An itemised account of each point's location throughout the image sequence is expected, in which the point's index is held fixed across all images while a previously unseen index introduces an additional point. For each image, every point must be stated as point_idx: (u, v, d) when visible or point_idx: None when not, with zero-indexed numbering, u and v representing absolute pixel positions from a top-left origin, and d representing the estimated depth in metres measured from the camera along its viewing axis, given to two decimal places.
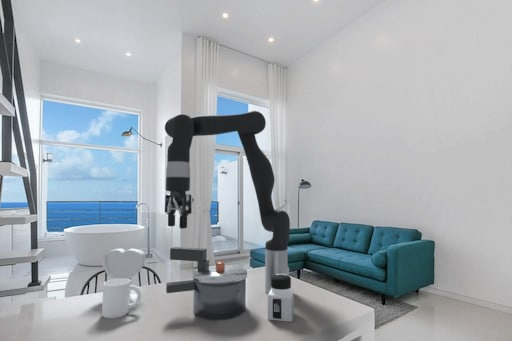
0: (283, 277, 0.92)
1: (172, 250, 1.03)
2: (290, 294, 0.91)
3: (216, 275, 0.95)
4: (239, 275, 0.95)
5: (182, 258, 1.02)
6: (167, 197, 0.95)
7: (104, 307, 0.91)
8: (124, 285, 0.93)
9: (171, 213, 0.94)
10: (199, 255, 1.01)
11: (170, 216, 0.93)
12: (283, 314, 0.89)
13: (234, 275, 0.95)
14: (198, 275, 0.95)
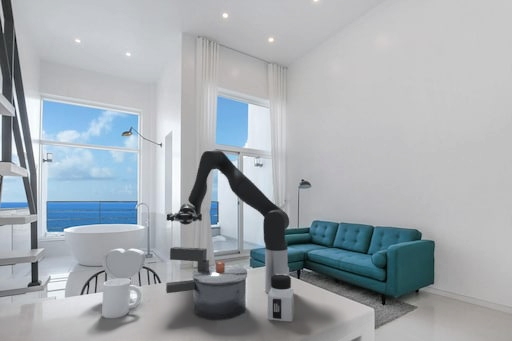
0: (283, 277, 0.92)
1: (172, 250, 1.03)
2: (290, 294, 0.91)
3: (216, 275, 0.95)
4: (239, 275, 0.95)
5: (182, 258, 1.02)
6: None
7: (104, 307, 0.91)
8: (124, 285, 0.93)
9: None
10: (199, 255, 1.01)
11: None
12: (283, 314, 0.89)
13: (234, 275, 0.95)
14: (198, 275, 0.95)
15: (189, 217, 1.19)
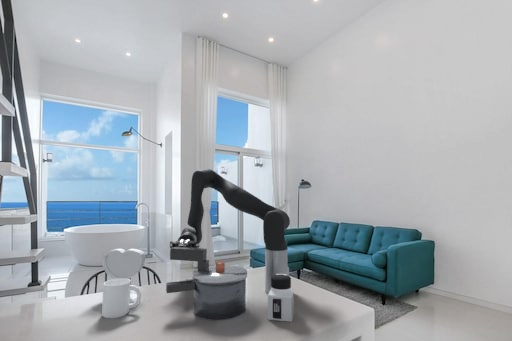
0: (283, 277, 0.92)
1: (172, 250, 1.03)
2: (290, 294, 0.91)
3: (216, 275, 0.95)
4: (239, 275, 0.95)
5: (182, 258, 1.02)
6: None
7: (104, 307, 0.91)
8: (124, 285, 0.93)
9: None
10: (199, 255, 1.01)
11: None
12: (283, 314, 0.89)
13: (234, 275, 0.95)
14: (198, 275, 0.95)
15: None
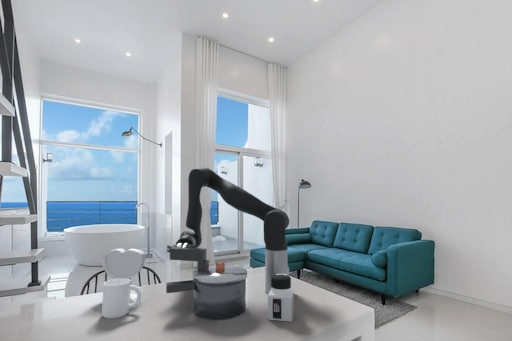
0: (283, 277, 0.92)
1: (172, 250, 1.03)
2: (290, 294, 0.91)
3: (216, 275, 0.95)
4: (239, 275, 0.95)
5: (182, 258, 1.02)
6: None
7: (104, 307, 0.91)
8: (124, 285, 0.93)
9: None
10: (199, 255, 1.01)
11: None
12: (283, 314, 0.89)
13: (234, 275, 0.95)
14: (198, 275, 0.95)
15: None
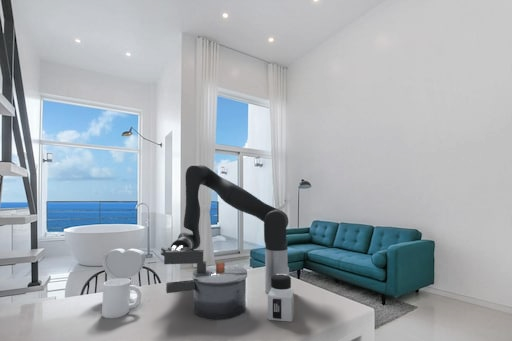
0: (283, 277, 0.92)
1: (167, 254, 0.96)
2: (290, 294, 0.91)
3: (222, 275, 0.95)
4: (243, 273, 0.98)
5: (179, 261, 0.97)
6: None
7: (104, 307, 0.91)
8: (124, 285, 0.93)
9: None
10: (198, 256, 0.98)
11: None
12: (283, 314, 0.89)
13: (239, 273, 0.97)
14: (204, 277, 0.93)
15: None
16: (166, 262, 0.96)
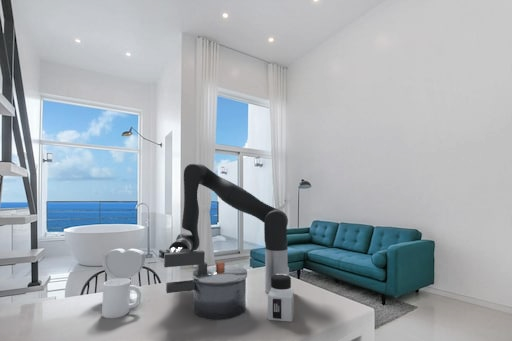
0: (283, 277, 0.92)
1: (168, 257, 0.93)
2: (290, 294, 0.91)
3: (225, 275, 0.96)
4: (244, 271, 1.00)
5: (180, 264, 0.94)
6: None
7: (104, 307, 0.91)
8: (124, 285, 0.93)
9: None
10: (200, 257, 0.96)
11: None
12: (283, 314, 0.89)
13: (240, 272, 0.99)
14: (209, 278, 0.92)
15: None
16: (166, 265, 0.92)
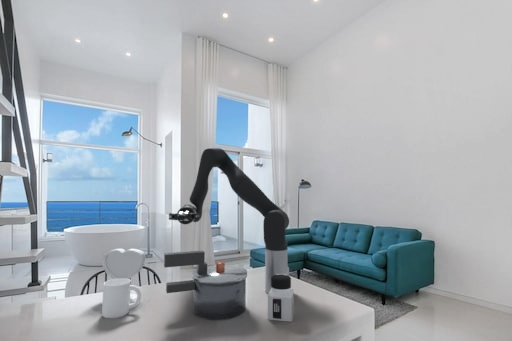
0: (283, 277, 0.92)
1: (168, 257, 0.92)
2: (290, 294, 0.91)
3: (225, 275, 0.96)
4: (244, 271, 1.00)
5: (180, 264, 0.94)
6: None
7: (104, 307, 0.91)
8: (124, 285, 0.93)
9: None
10: (200, 257, 0.96)
11: None
12: (283, 314, 0.89)
13: (240, 272, 0.99)
14: (209, 278, 0.92)
15: None
16: (167, 265, 0.92)
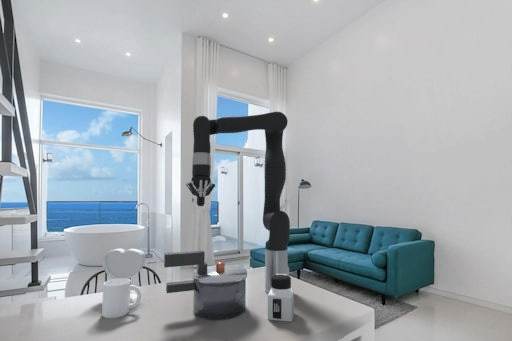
0: (283, 277, 0.92)
1: (168, 257, 0.92)
2: (290, 294, 0.91)
3: (225, 275, 0.96)
4: (244, 271, 1.00)
5: (180, 264, 0.94)
6: None
7: (104, 307, 0.91)
8: (124, 285, 0.93)
9: None
10: (200, 257, 0.96)
11: None
12: (283, 314, 0.89)
13: (240, 272, 0.99)
14: (209, 278, 0.92)
15: None
16: (167, 265, 0.92)
